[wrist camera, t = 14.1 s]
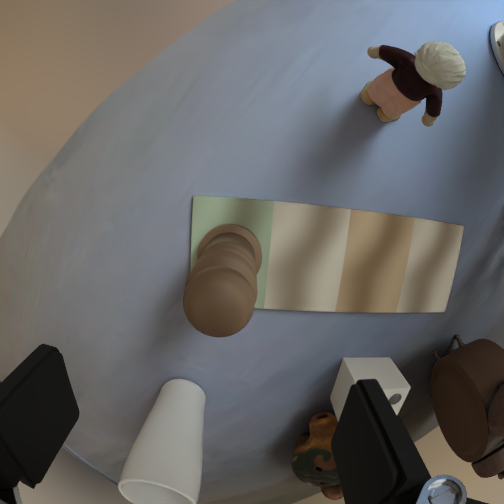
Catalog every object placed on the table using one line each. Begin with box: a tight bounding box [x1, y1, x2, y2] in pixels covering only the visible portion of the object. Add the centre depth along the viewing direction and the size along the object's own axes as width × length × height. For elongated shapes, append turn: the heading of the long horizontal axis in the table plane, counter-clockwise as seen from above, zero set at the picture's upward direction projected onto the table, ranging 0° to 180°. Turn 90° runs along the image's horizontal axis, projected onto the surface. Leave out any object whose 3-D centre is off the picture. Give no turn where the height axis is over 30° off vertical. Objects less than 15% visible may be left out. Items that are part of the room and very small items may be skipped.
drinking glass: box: [118, 379, 206, 504], centre depth 24 cm, size 7×7×15 cm
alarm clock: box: [430, 335, 504, 479], centre depth 22 cm, size 15×7×20 cm, turn 18°
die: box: [330, 357, 411, 421], centre depth 28 cm, size 6×6×6 cm
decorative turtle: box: [292, 412, 344, 500], centre depth 30 cm, size 10×15×8 cm, turn 20°
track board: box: [190, 195, 464, 313], centre depth 27 cm, size 28×10×1 cm, turn 85°
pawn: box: [183, 224, 262, 337], centre depth 21 cm, size 6×6×12 cm
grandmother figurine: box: [360, 42, 466, 127], centre depth 18 cm, size 8×4×13 cm, turn 55°
